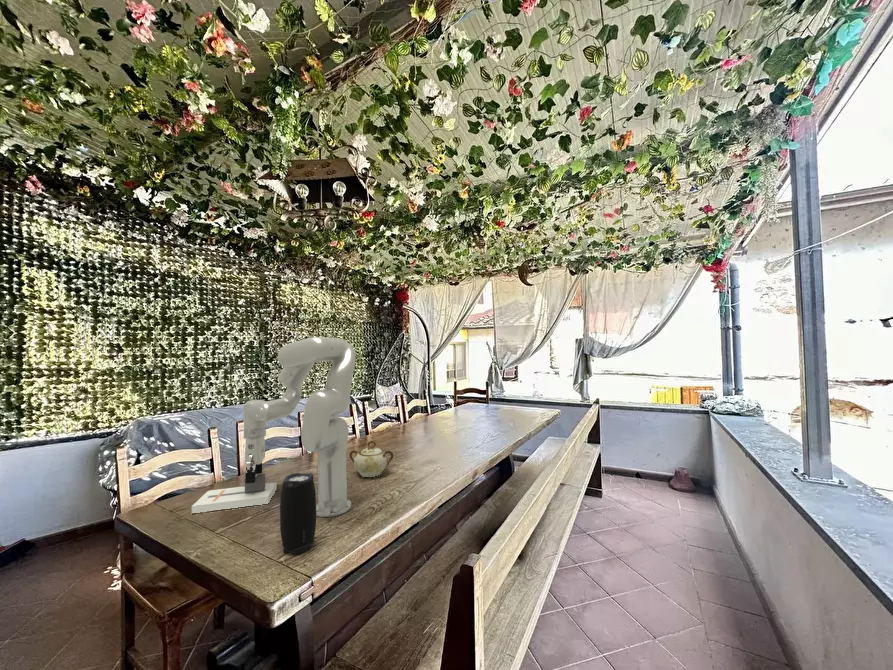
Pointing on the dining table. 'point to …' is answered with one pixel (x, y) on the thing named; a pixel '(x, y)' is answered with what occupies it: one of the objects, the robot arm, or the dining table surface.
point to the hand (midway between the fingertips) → (254, 478)
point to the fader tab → (256, 484)
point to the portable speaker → (298, 512)
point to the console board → (233, 498)
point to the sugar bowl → (371, 460)
